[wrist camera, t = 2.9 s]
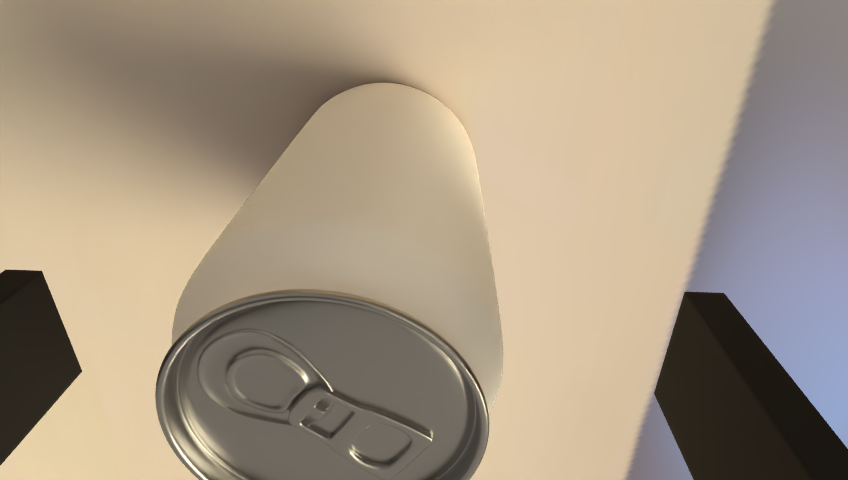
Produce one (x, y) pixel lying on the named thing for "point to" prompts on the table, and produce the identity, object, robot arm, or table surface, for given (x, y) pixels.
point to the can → (344, 308)
